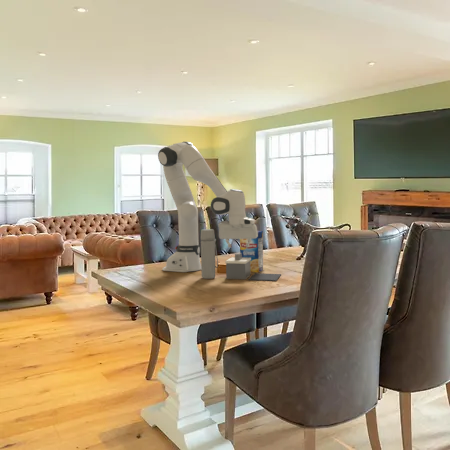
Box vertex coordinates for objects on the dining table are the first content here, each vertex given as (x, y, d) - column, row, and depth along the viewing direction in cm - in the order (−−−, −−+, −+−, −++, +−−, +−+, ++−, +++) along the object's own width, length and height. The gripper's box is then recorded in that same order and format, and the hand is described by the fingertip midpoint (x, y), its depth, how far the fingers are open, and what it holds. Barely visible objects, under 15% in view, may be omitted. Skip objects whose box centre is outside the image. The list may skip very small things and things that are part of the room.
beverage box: (258, 272, 256) (258, 232, 254) (240, 271, 261) (239, 231, 259) (263, 270, 262) (262, 231, 261) (245, 269, 267) (244, 230, 265)
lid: (225, 265, 240) (225, 255, 240) (231, 261, 252) (231, 251, 252) (245, 266, 237) (245, 255, 237) (251, 262, 249) (250, 252, 249)
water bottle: (205, 279, 239) (204, 230, 237) (198, 277, 246) (197, 229, 244) (221, 278, 243) (220, 229, 241) (214, 275, 250) (213, 228, 248)
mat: (248, 280, 236) (248, 279, 236) (255, 274, 251) (255, 273, 251) (276, 281, 232) (276, 280, 232) (281, 275, 247) (281, 274, 247)
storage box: (226, 278, 241) (226, 263, 240) (232, 274, 252) (232, 259, 252) (245, 279, 238) (245, 263, 237) (250, 274, 250) (250, 259, 249)
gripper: (216, 221, 242) (217, 248, 244) (255, 220, 237) (256, 248, 238) (220, 220, 249) (221, 246, 250) (258, 219, 243) (259, 246, 244)
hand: (238, 247), depth 244 cm, fingers open, 8 cm apart
